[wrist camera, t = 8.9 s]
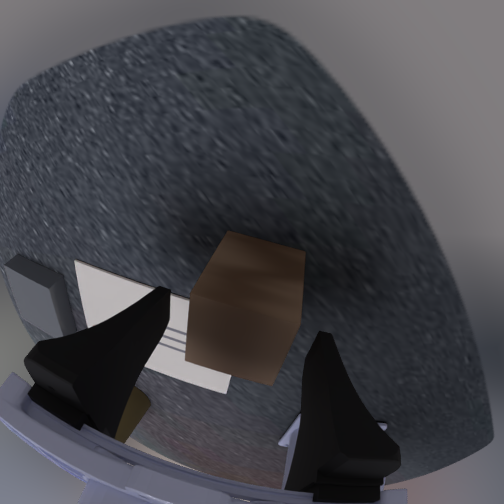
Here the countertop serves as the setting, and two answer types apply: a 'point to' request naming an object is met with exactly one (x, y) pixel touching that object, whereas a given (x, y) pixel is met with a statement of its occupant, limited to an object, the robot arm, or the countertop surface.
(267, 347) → the walnut block
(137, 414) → the cork
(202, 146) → the countertop surface
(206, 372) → the letter
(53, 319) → the metal block
